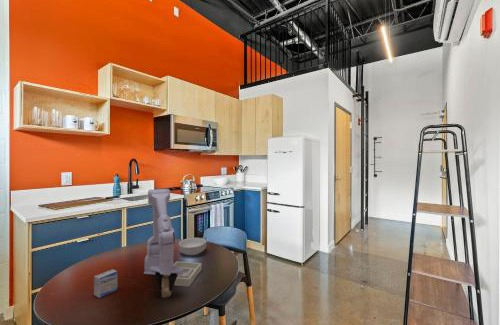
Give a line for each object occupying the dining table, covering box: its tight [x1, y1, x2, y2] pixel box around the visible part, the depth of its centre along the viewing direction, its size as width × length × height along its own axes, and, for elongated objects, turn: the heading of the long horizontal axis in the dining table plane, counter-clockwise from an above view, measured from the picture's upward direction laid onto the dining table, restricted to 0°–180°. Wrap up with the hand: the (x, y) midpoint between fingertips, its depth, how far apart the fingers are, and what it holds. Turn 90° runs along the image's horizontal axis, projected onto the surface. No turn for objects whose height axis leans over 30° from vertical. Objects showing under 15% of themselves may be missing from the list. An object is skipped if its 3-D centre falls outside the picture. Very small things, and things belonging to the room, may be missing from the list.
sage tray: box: [164, 261, 202, 288], centre depth 122 cm, size 14×17×4 cm
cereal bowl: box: [178, 237, 207, 257], centre depth 151 cm, size 17×17×7 cm
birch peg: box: [161, 275, 172, 299], centre depth 105 cm, size 4×4×8 cm
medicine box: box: [93, 269, 118, 299], centre depth 107 cm, size 8×4×9 cm, turn 148°
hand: (166, 289), depth 105 cm, fingers closed on birch peg, 4 cm apart
